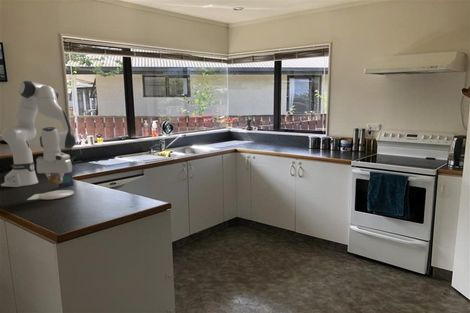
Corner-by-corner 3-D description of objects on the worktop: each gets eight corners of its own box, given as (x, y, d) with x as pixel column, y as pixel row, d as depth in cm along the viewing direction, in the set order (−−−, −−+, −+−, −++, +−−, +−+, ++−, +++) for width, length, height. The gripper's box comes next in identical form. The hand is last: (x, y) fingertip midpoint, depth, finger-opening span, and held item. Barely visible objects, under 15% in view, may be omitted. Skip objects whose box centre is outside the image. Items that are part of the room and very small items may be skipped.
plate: (31, 200, 198) (31, 198, 198) (53, 191, 215) (53, 189, 215) (60, 200, 195) (60, 198, 194) (80, 192, 212) (80, 190, 212)
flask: (72, 184, 234) (70, 168, 232) (74, 185, 232) (72, 168, 230) (58, 187, 226) (56, 170, 225) (60, 188, 225) (58, 171, 223)
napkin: (27, 200, 198) (26, 199, 198) (35, 194, 210) (35, 194, 210) (42, 198, 200) (42, 198, 200) (49, 193, 211) (49, 193, 211)
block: (49, 184, 202) (48, 175, 201) (55, 182, 207) (53, 173, 206) (57, 184, 201) (56, 175, 200) (62, 182, 206) (61, 173, 205)
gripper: (32, 157, 200) (35, 182, 203) (65, 157, 197) (68, 181, 199) (40, 155, 207) (43, 179, 209) (72, 155, 203) (75, 179, 205)
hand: (55, 180), depth 204 cm, fingers closed on block, 5 cm apart
